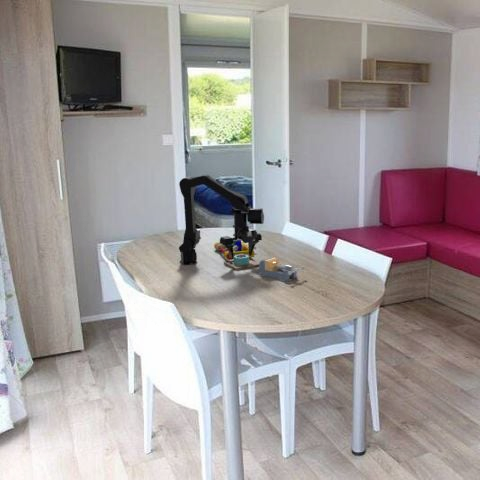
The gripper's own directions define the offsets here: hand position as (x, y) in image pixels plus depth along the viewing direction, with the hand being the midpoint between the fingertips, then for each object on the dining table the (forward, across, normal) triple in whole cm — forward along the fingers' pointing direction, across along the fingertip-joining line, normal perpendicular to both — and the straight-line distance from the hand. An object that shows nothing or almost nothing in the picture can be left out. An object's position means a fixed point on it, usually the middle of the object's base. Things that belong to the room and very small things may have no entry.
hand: (241, 257), depth 242 cm
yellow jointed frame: (+3, +7, +16) cm, 18 cm away
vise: (+4, +6, -24) cm, 25 cm away
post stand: (+4, 0, 0) cm, 4 cm away
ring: (+3, 0, 0) cm, 3 cm away
